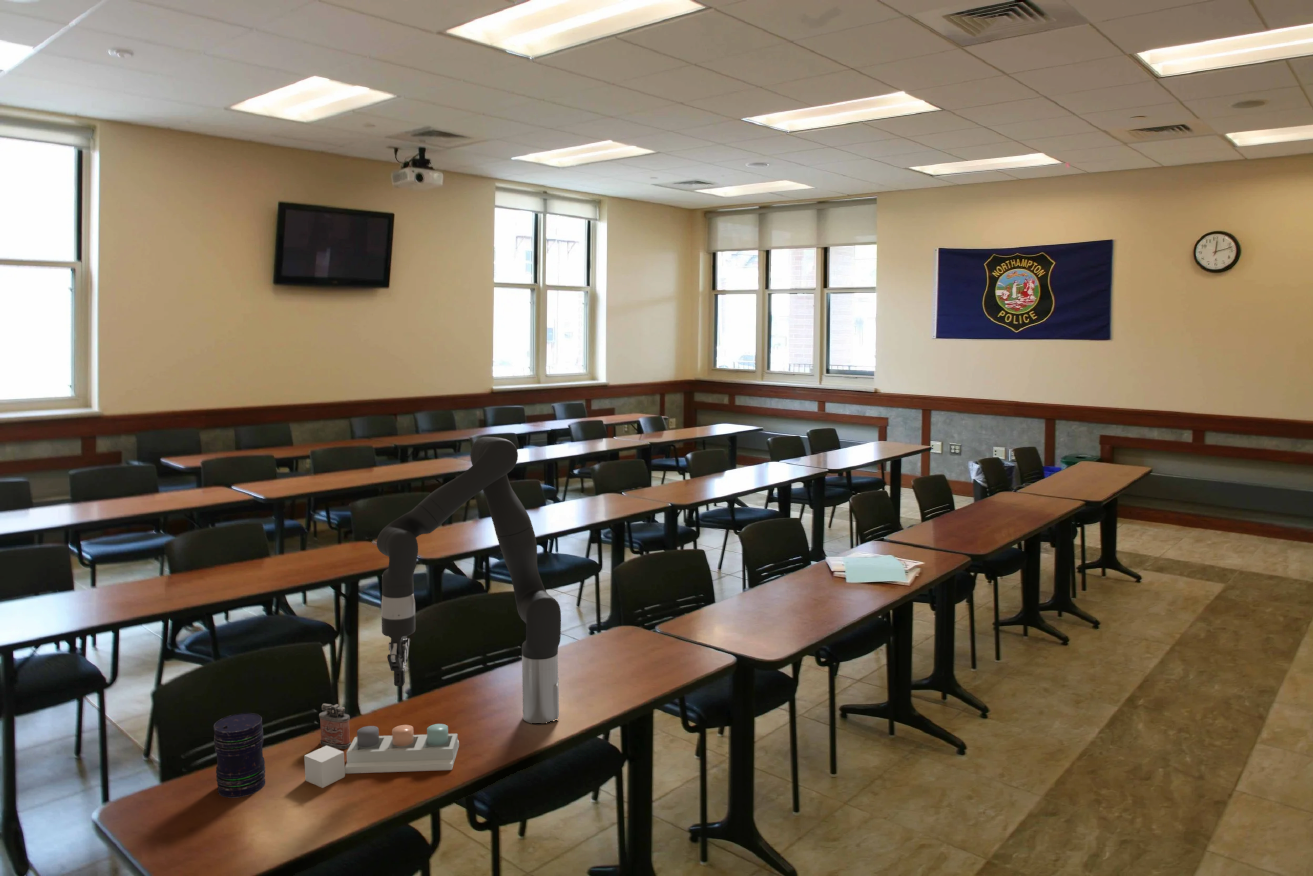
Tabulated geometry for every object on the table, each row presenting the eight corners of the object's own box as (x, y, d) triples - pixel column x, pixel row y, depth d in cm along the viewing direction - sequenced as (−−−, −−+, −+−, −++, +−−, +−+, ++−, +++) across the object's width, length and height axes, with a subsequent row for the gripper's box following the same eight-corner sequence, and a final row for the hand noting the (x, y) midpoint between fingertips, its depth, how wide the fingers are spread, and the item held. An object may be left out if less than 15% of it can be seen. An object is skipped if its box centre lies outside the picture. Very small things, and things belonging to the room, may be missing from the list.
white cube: (322, 788, 204) (321, 762, 203) (305, 781, 207) (304, 755, 206) (345, 777, 209) (344, 751, 208) (327, 770, 212) (326, 745, 211)
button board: (459, 746, 224) (458, 729, 223) (451, 770, 212) (451, 753, 211) (357, 749, 222) (357, 733, 221) (344, 773, 210) (344, 756, 210)
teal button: (449, 735, 220) (449, 723, 219) (446, 744, 215) (446, 732, 214) (429, 736, 219) (428, 724, 219) (425, 745, 214) (425, 733, 214)
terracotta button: (415, 736, 219) (415, 724, 219) (411, 745, 214) (411, 733, 214) (394, 737, 219) (394, 725, 218) (390, 746, 214) (390, 734, 213)
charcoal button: (381, 737, 218) (380, 725, 218) (376, 747, 214) (376, 734, 213) (360, 738, 218) (359, 726, 218) (355, 747, 213) (354, 735, 213)
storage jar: (249, 771, 211) (246, 709, 209) (275, 783, 205) (271, 719, 204) (207, 789, 203) (203, 724, 201) (233, 803, 197) (229, 736, 195)
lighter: (353, 744, 225) (352, 704, 224) (345, 750, 222) (343, 710, 220) (326, 739, 227) (324, 700, 226) (317, 745, 224) (315, 705, 223)
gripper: (408, 622, 207) (409, 696, 209) (420, 604, 220) (421, 674, 223) (374, 622, 207) (376, 696, 209) (388, 604, 220) (389, 674, 222)
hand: (399, 684), depth 216 cm, fingers closed
